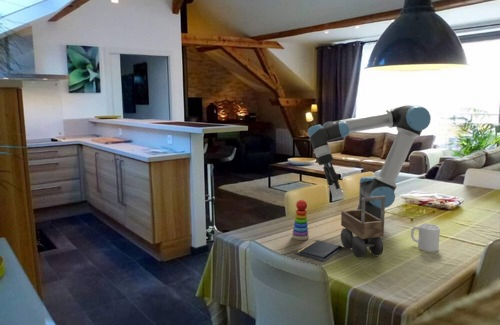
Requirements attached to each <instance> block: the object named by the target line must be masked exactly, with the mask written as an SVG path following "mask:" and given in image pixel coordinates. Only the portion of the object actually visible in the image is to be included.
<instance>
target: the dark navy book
mask: <svg viewBox="0 0 500 325" xmlns="http://www.w3.org/2000/svg"><path fill="white" fill-rule="evenodd" d="M343 249H345V248H344V246H343V245H340V244H335V243H330V242H325V241H322V240H314V241H312V242H311V243H308V244H307V245H306V246H304V247H302V248H301V249H299V250H297V251H296V252H294V253H293V254H294V255H296V256H297V255H298V256H300V257H303V258H307V259H310V260H314V261H316V262H317V261H318V262H323V263H324V262H327V261H328V260H329V259H330V258H332V257H333V256H335V255H336V254H338V253H339V252H341V251H342V250H343Z"/></svg>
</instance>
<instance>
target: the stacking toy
mask: <svg viewBox="0 0 500 325" xmlns="http://www.w3.org/2000/svg"><path fill="white" fill-rule="evenodd" d="M295 205H296V210H295V213H296V214H295V218H294V223H293V230H292V234H291V236H292V238H293V239H294V240H296V241H306V240H308V239H309V237H310V236H309V227H308V225H309V224H308V215H307V214H308V213H307V210H306V209H307V207H308V203H307V202H306V201H305V200H304V199H301V200H298V201H297V202H296V204H295Z"/></svg>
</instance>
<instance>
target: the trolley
mask: <svg viewBox="0 0 500 325" xmlns="http://www.w3.org/2000/svg"><path fill="white" fill-rule="evenodd" d="M385 199H386V197H385V196H373V197H362V199H361V200H362V209H361V210H357V209H354V210H353V209H352V210H342V211H341V216H340V217H341V218H340V219H341V220H340V226H341V227H344V228H342V229H341V233H340V241H341V244H342V247H344V248H343V249H345V250H352V251H353V255H354V256H355V257H356V258H358V259H359V258H360V259H361V258H364V257H366V254H367V253H366V252H367V248H369V251H370V252H371V254H372V255H374V256H381V255H382V254H383V251H384V241H383V240H382V237H384V236H385V235H384V233H385V232H384V231H385V214H386V213H385V210H386V208H385ZM373 200H381V219H379V218H377V217H375V216H373V215H371V214H369V213H367V212H365V201H373Z"/></svg>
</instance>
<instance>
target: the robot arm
mask: <svg viewBox="0 0 500 325" xmlns="http://www.w3.org/2000/svg"><path fill="white" fill-rule="evenodd" d="M430 124H431V114H430V112H429V110H428V109H427V108H425V107H424V106H420V105H410V104H409V105H407V104H405V105H402V106H399V107H395V108H390V109H387V110H385V111H384V112H379V113H373V114H367V115H362V116H356V117H351V118H346V119H340V120H335V121H326V122H325V123H323V125H321V124H316V125H313V126H310V127H309V128H308V129H307V134H308V137H309V141H310V143H311V147H312V148H313V154H314V156H315V157H316V160H317V164H318V165H319V166H323V167H322V169H323V172H324V175H325V178H326V182H327V183H326V184H327V186H329V190H330V193H331V196H332V198H333V199H336V198H339V197H341V196H343V195H344V194H343V191H342V188H341V184H340V182H339V177H338V174H337V172H336V170H335V168H334V166H333V163H332V162H333V161H334V157H333V154H331V152H332V151H331V148H330V146H329V143H328V142H331V141H335V140H338V139H342V138H345V137H347V136H349V135H350V134H351V133H356V132H362V131H368V130H373V129H374V130H375V129H379V128H385V127H388V128H391V129H392V128H396V130H397V134H396V136H395V138H394V140H393V143H392V145H391V147H390V150H389V151H388V154H387V156H386V158H385V160H384V162H383V165H382V167H381V170H380V172H379V174H378V175H376V176H363V177H360V179H359V182H358V183H359V192H358V194H359V195H358V196H359V199H358V200H359V201H358V206H357V208H356V210H361V209H362V200H361V199H362V197H373V196H385V197H386V199H385V209H386V208H389V207H390V206H392V205H393V203H394V202H395V199H396V194H395V191H396V189H397V187H398V186H397V184H396V181H397V179H398V176H399V175H400V172H401V170H402V168H403V165H404V164H405V161H406V159H407V157H408V155H409V152H410V150H411V147H412V146H413V144H414V142H415V139H416V138H419V137H420V136H421V134H422V132H423V130H426V129H427V128H428V127H429V125H430ZM365 212H367V213H369V214H371V215H373V216H375V217H377V218H379V219H381V200H373V201H365Z"/></svg>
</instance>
